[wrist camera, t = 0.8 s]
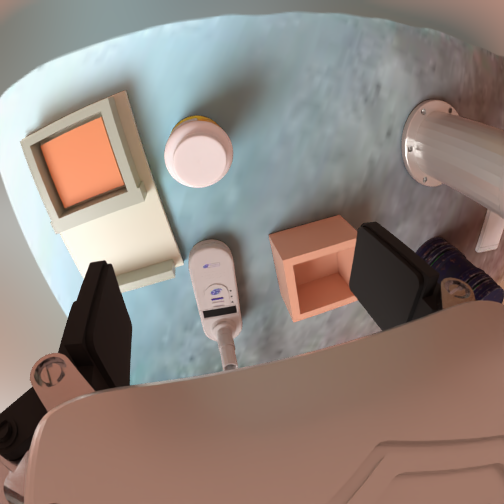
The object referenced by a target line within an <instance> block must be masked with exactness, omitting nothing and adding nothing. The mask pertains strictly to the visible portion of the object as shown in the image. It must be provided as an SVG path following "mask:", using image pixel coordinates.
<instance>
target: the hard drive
mask: <svg viewBox="0 0 504 504" xmlns="http://www.w3.org/2000/svg"><path fill="white" fill-rule="evenodd" d="M503 229H504V219H503V218H501V217H500V216H498V215H496V214H495V213H493V212H492V211H490V210H489V209H487V213H486V216H485V220H484V223H483V227H482V230H481V233H480V237H479V240H478V243H477V246H476V249H475V251H477V252H484V251H489V250H493V249H497V247H498V244H499V241H500V238H501V235H502V232H503Z"/></svg>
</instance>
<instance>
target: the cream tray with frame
mask: <svg viewBox="0 0 504 504" xmlns="http://www.w3.org/2000/svg"><path fill="white" fill-rule="evenodd" d="M100 117H103V120H104V124H105V127H106V130H107V133H108V136H109V139H110V142H111V145H112V148H113V151H114V154H115V157H116V160H117V163H118V166H119V169H120V171H121V174H122V177H123V180H124V182H125V184H124V185H122V186H120V187H117V188H114V189H112V190H109V191H106V192H104V193H101V194H99V195H96V196H94V197H91V198H89V199H86V200H84V201H81V202H79V203H76V204H74V205H71V206H69V207H67V208H64V206H63V203H62V201H61V199H60V196H59V194H58V191H57V189H56V187H55V184H54V182H53V179H52V176H51V174H50V171H49V169H48V166H47V163H46V161H45V158H44V155H43V152H42V149H41V145H43V144H45V143H47V142H49V141H50V140H52V139H54V138H56V137H58V136H60V135H62V134H64V133H66V132H69V131H71V130H73V129H75V128H77V127H79V126H81V125H84V124H86V123H88V122H90V121H93V120H95V119H97V118H100ZM20 143H21V146H22V149H23V152H24V155H25V158H26V160H27V163H28V166H29V169H30V171H31V174H32V176H33V179H34V182H35V184H36V186H37V189H38V191H39V194H40V196H41V198H42V201H43V203H44V205H45V208H46V210H47V212H48V214H49V216H50V219H51V222H50V223H51V225H52V227H53V229H54V231H55V233H56V234H58V233H60V235H61V237H62V239H63V241H64V243H65V245H66V247H67V249H68V251H69V253H70V255H71V256H72V258H73V260H74V262H75V264H76V266H77V268H78V269H79V271H80V273H81V275H82V277H83V278H85V275H86V272H87V269H88V267H89V264H90V263H91V262H96V261H103V260H105V261H106V262H107V264H110V263H111V264H112V266H113V269H114V272H115V275H116V278H117V282H118V285H119V288H120V291H121V293H123V292H126V291H130V290H133V289H137V288H140V287H144V286H147V285H151V284H154V283H158V282H161V281H164V280H168V279H171V278H175V267H178V266H182V265H184V261H183V258H182V256H181V253H180V250H179V248H178V245H177V243H176V240H175V237H174V235H173V232H172V229H171V227H170V224H169V221H168V218H167V216H166V213H165V210H164V207H163V205H162V202H161V199H160V196H159V193H158V190H157V187H156V185H155V182H154V179H153V176H152V173H151V170H150V167H149V164H148V161H147V158H146V155H145V151H144V148H143V145H142V142H141V139H140V136H139V132H138V129H137V126H136V123H135V119H134V116H133V113H132V109H131V106H130V102H129V99H128V95H127V92H126V90H124V91H122V92H119V93H117V94H114V95H112V96H109V97H107V98H104V99H102V100H99V101H97V102H95V103H93V104H90V105H88V106H86V107H84V108H81V109H79V110H77V111H75V112H73V113H71V114H69V115H67V116H65V117H63V118H61V119H59V120H57V121H55V122H53V123H51V124H49V125H47V126H45V127H43V128H42V129H40V130H38V131H36V132H34V133H33V134H31V135H29V136H27V137H26V138H24V139H22V141H20Z"/></svg>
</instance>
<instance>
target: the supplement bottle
mask: <svg viewBox="0 0 504 504" xmlns="http://www.w3.org/2000/svg"><path fill="white" fill-rule="evenodd" d="M164 158H165V164H166V167H167V169H168V171H169V173H170V174H171V175H172V177H173V178H174V179H175V180H177V181H178V182H180V183H181V184H183V185H186V186H189V187H195V188H200V187H206V186H210V185H212V184H214V183H216V182H218V181H219V180H220V179H222V178H223V177H224V175H225V174H226V173H227V172H228V170H229V168H230V166H231V163H232V159H233V147H232V144H231V141H230V139H229V137H228V135H227V134H226V133H225V131H224V130H223V129H222V128H221V127H220V126H219V125H218V124H217V123H216V122H214V121H213V120H212V119H210V118H208V117H205V116H200V115H195V116H189V117H187V118H184V119H183V120H181V121H180V122H179V123H177V124H176V126H175V127H174V128H173V130H172V132H171V134H170V136H169V139H168V141H167V144H166V147H165V153H164Z"/></svg>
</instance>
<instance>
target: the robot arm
mask: <svg viewBox="0 0 504 504" xmlns="http://www.w3.org/2000/svg"><path fill="white" fill-rule="evenodd" d="M402 156H403V161H404V164H405V167H406V169H407V171H408V173H409V174H410V175H411V176H412V178H413V179H415V180H416V181H417V182H419V183H421V184H423V185H425V186H429V187H435V186H439V185H441V184H443V183H444V184H446V185H447V186H449V187H451V188H453V189H455V190H456V191H458V192H460V193H462V194H463V195H465V196H467V197H469V198H470V199H472V200H474V201H475V202H477V203H479V204H480V205H482V206H484V207H485V208H487V209H489V210H490V211H492V212H493V213H495V214H496V215H498V216H500V217H501V218H503V219H504V130H502V129H499V128H496V127H493V126H490V125H487V124H484V123H481V122H477V121H474V120H471V119H467V118H464V117H460V116H459V114H458V113H457V111H456V110H455V109H454V108H453V107H452V106H451V105H450V104H448V103H446V102H444V101H440V100H427V101H424V102H422V103H421V104H419V105H418V106H417V107H416V108H415V109H414V110H413V111H412V112H411V114H410V115H409V117H408V119H407V121H406V123H405V126H404V130H403V134H402ZM439 275H440V274H439V273H438V272H437V271H436V270H435V269H434V268H433V267H431V266H430V265H429V264H428V263H427V262H426V261H424V260H423V259H422V258H421V257H420V256H418V255H417V254H416V253H415V252H414V251H412V250H411V249H410V248H409V247H408V246H406V245H405V244H404V243H403V242H401V241H400V240H399V239H398V238H396V237H395V236H394V235H393V234H391V233H390V232H389V231H388V230H386V229H385V228H384V227H382V226H381V225H380V224H378V223H377V222H370V223H363V224H362V225H361V227H360V228H359V229H358V231H357V238H356V245H355V251H354V257H353V263H352V269H351V274H350V280H349V287H350V290H351V292H352V293H353V294H354V295H355V297H356V298H357V299H358V300H359V302H360V303H361V304H362V305H363V307H364V308H365V309H366V310H367V312H368V313H369V314H370V316H371V317H372V318H373V319H374V321H375V322H376V323H377V325H378V326H379V327H380V328H381V330H382V331H380V332H377V333H374V334H371V335H368V336H364V337H361V338H358V339H355V340H351V341H348V342H345V343H341V344H338V345H334V346H330V347H327V348H323V349H320V350H316V351H312V352H308V353H304V354H300V355H296V356H292V357H288V358H284V359H280V360H275V361H271V362H266V363H262V364H257V365H253V366H248V367H243V368H238V369H233V370H228V371H222V372H217V373H211V374H205V375H199V376H193V377H187V378H180V379H173V380H166V381H159V382H152V383H145V384H138V385H131V386H130V358H131V340H132V324H131V320H130V317H129V315H128V312H127V309H126V306H125V303H124V300H123V297H122V294H121V291H120V288H119V285H118V282H117V278H116V275H115V272H114V269H113V266H112V264H111V263H110V264H107V262H106V261H105V260H103V261H96V262H91V263H90V264H89V267H88V269H87V272H86V275H85V278H84V280H83V283H82V286H81V289H80V292H79V295H78V298H77V301H75V302H73V304H72V307H71V310H70V313H69V317H68V320H67V323H66V327H65V330H64V334H63V337H62V340H61V344H60V348H59V351H58V353H52V354H48V355H45V356H44V357H42V358H40V359H39V360H38V361H37V362H36V363H35V365H34V366H33V367H32V370H31V373H30V381H31V383H32V386H33V387H32V388H30V389H29V390H28V391H27V392H26V393H24V394H23V395H22V396H21V397H20V398H18V399H17V400H16V401H15V402H14V403H13V404H11V405H10V406H9V407H8V408H6V410H4V411H3V412H2V413H1V414H0V504H504V305H503V304H501V303H499V302H494V301H480V300H476V299H475V296H474V292H473V290H472V288H471V287H470V286H469V285H468V284H467V283H465V282H464V281H462V280H459V279H456V278H445V279H443V280H442V281H441V284H439V283H438V282H437V281H438V278H439Z"/></svg>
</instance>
